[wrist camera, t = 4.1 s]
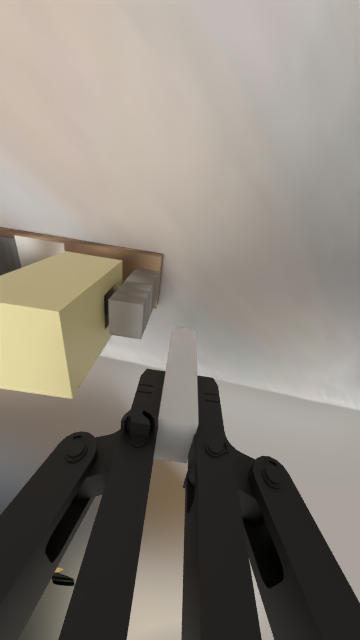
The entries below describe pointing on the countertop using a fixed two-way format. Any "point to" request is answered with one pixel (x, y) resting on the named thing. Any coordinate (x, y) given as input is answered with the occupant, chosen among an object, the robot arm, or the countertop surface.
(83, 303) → the pale yellow block
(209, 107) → the countertop surface
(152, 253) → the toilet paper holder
